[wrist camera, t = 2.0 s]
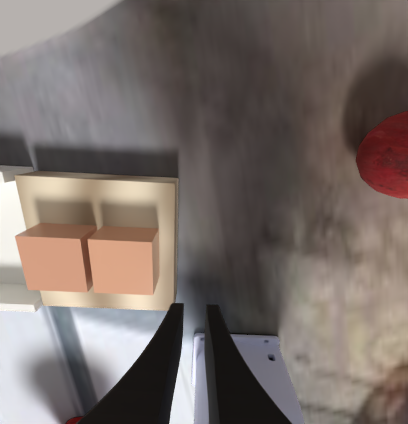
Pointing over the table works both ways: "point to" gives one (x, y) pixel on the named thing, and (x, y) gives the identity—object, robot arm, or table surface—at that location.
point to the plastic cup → (74, 420)
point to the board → (107, 224)
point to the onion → (386, 156)
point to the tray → (13, 246)
